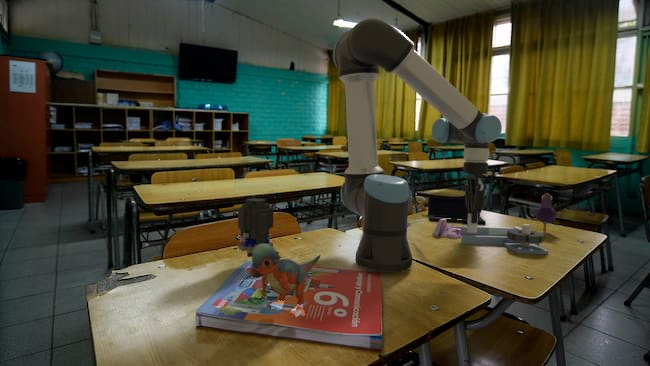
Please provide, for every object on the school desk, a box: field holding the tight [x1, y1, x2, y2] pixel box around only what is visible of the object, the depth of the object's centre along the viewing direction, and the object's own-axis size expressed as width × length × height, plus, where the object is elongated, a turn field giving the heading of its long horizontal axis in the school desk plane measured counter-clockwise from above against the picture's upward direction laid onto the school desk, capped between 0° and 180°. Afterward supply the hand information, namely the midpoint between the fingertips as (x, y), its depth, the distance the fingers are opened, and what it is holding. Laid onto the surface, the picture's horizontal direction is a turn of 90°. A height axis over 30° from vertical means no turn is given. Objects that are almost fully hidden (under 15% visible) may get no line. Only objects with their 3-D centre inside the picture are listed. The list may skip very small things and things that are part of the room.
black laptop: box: [427, 194, 487, 226], centre depth 156 cm, size 21×16×10 cm
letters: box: [431, 218, 462, 240], centre depth 131 cm, size 8×7×6 cm
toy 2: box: [250, 244, 321, 305], centre depth 74 cm, size 19×11×15 cm, turn 118°
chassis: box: [452, 223, 549, 255], centre depth 122 cm, size 24×25×8 cm
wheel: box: [506, 228, 546, 244], centre depth 114 cm, size 10×10×2 cm
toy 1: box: [237, 197, 274, 258], centre depth 100 cm, size 9×9×15 cm
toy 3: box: [534, 192, 559, 233], centre depth 137 cm, size 11×12×7 cm
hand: (471, 232), depth 127 cm, fingers closed
